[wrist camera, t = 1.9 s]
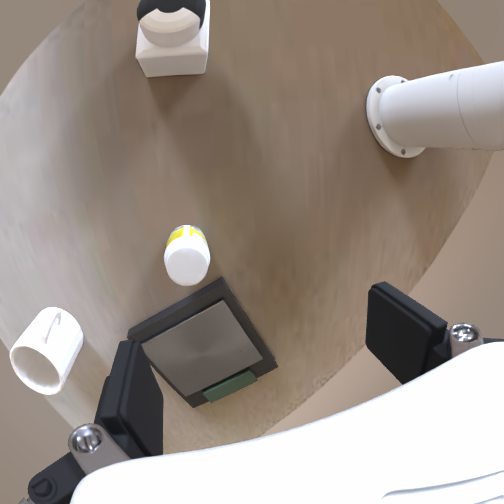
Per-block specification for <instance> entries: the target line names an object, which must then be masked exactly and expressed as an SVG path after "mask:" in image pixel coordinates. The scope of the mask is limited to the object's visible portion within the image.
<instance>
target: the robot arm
mask: <svg viewBox="0 0 504 504" xmlns="http://www.w3.org/2000/svg"><path fill="white" fill-rule="evenodd" d="M366 109H367V117H368V122H369V125H370V128H371V130H372V133H373V134H374V136H375V138H376V140H377V141H378V142H379V144H380V145H381V146H382V147H383V148H384V149H385V150H386V151H388V152H389V153H391V154H392V155H395V156H397V157H403V158H411V157H415V156H417V155H419V154H420V153H421V152H422V151H423V150H424V149H425V148H426V147H428V148H456V149H472V150H486V151H501V150H504V61H502V62H497V63H492V64H487V65H482V66H476V67H470V68H465V69H460V70H455V71H450V72H445V73H441V74H436V75H432V76H428V77H424V78H420V79H416V80H412V81H408V80H406V79H404V78H402V77H399V76H388V77H384V78H382V79H380V80H378V81H377V82H375V84H374V85H373V86H372V87H371V89H370V91H369V94H368V97H367V105H366ZM447 323H448V322H446V321H445V320H443V319H442V318H440V317H439V316H437V315H436V314H434V313H433V312H431V311H430V310H428V309H427V308H425V307H424V306H422V305H421V304H419V303H418V302H416V301H415V300H413V299H412V298H410V297H409V296H407V295H406V294H404V293H402V292H401V291H399V290H398V289H396V288H395V287H393V286H392V285H390V284H388V283H387V282H385V281H384V282H380V283H377V284H374V285H372V287H371V289H370V290H369V292H368V311H367V327H366V346H367V348H368V349H369V350H370V351H371V352H372V353H373V354H374V355H375V356H376V357H377V358H378V359H379V360H380V361H381V362H382V364H383V365H384V366H385V367H386V368H387V369H388V370H389V371H390V372H391V373H392V374H393V375H394V376H395V377H396V378H397V379H398V380H399V381H400V383H402V386H400V387H398V388H396V389H394V390H392V391H389V392H387V393H385V394H383V395H381V396H379V397H376V398H374V399H372V400H370V401H367V402H365V403H363V404H360V405H358V406H355V407H353V408H350V409H348V410H345V411H343V412H340V413H337V414H335V415H332V416H329V417H326V418H323V419H321V420H318V421H315V422H312V423H309V424H306V425H302V426H299V427H296V428H293V429H290V430H286V431H283V432H279V433H275V434H272V435H268V436H264V437H260V438H256V439H252V440H247V441H243V442H238V443H234V444H229V445H224V446H218V447H213V448H207V449H202V450H195V451H189V452H182V453H174V454H167V455H163V395H162V392H161V390H160V388H159V385H158V383H157V381H156V379H155V376H154V374H153V372H152V369H151V367H150V364H149V362H148V360H147V357H146V355H145V352H144V350H143V347H142V345H141V343H140V342H138V343H136V341H135V340H134V339H132V340H126V341H120V343H119V346H118V349H117V352H116V356H115V359H114V362H113V366H112V369H111V373H110V376H107V377H106V379H105V382H104V386H103V389H102V393H101V397H100V400H99V404H98V408H97V412H96V416H95V420H94V424H91V423H89V424H84V425H81V426H79V427H77V428H76V429H75V430H74V431H73V432H72V433H71V435H70V437H69V439H68V446H69V449H70V452H69V453H67V454H66V455H65V456H63V457H62V458H60V459H59V460H57V461H56V462H54V463H53V464H51V465H50V466H48V467H47V468H45V469H44V470H43V471H41V472H39V473H38V474H37V475H35V476H34V477H33V478H32V479H31V481H30V482H29V485H28V494H29V498H28V499H27V500H26V499H25V498H23V499H22V500H21V501H20V503H19V504H504V339H491V338H483V337H482V334H481V332H480V330H479V329H478V328H477V327H475V326H474V325H472V324H468V323H458V324H455V325H453V326H452V327H451V328H450V330H448V329H446V328H447Z"/></svg>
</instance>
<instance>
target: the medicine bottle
mask: <svg viewBox="0 0 504 504" xmlns="http://www.w3.org/2000/svg"><path fill="white" fill-rule="evenodd" d="M209 15H210V2H209V1H208V0H141V1H140V3H139V5H138V8H137V17H138V21H139V28H138V37H137V46H136V59H137V61H138V63H139V65H140V67H141V69H142V71H143V73H144V75H145V77H158V76H170V75H188V74H203V73H204V72H205V67H206V61H207V55H208V40H209Z"/></svg>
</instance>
